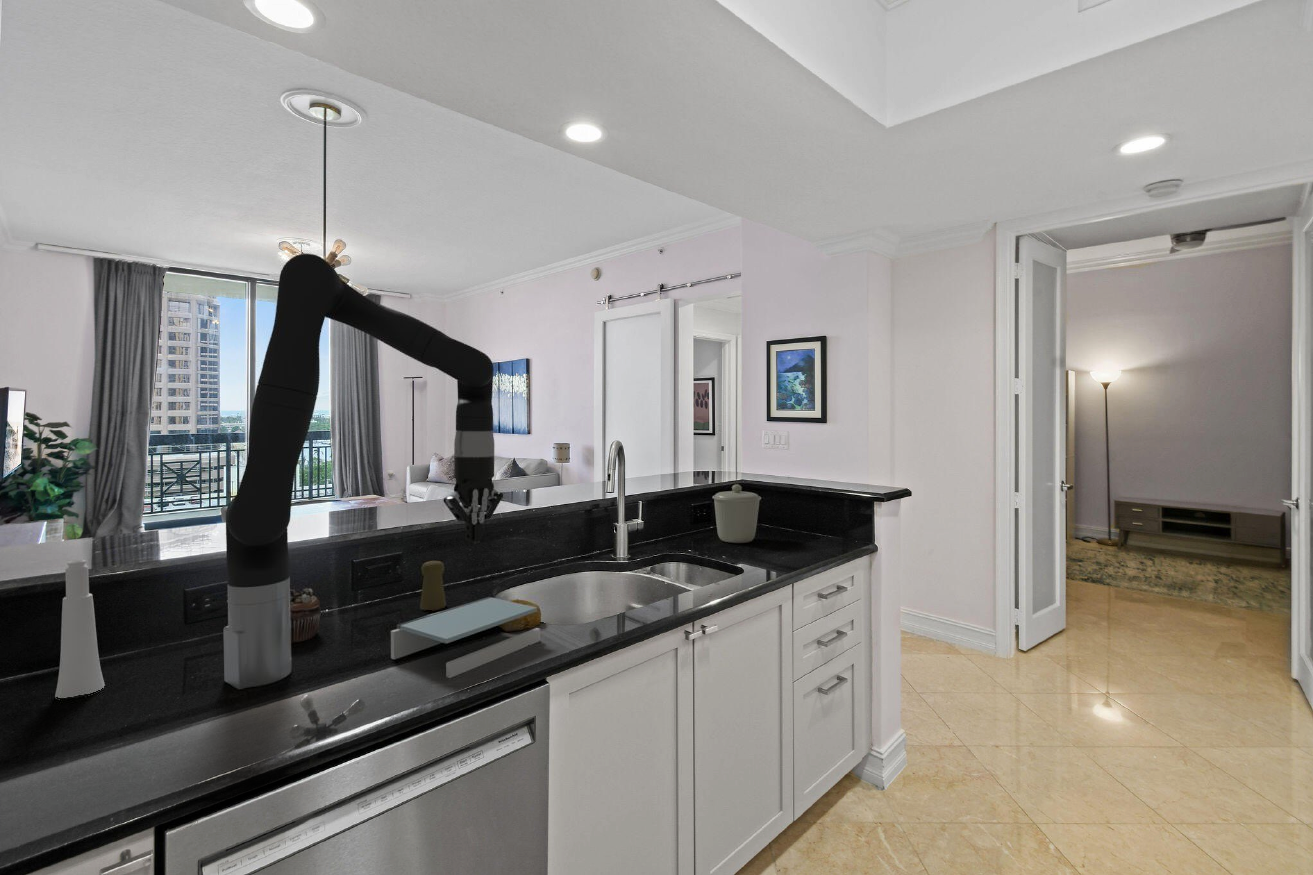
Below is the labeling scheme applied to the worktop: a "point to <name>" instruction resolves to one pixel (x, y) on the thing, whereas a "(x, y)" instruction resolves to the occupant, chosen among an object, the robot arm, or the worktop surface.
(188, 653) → the worktop surface
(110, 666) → the worktop surface
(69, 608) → the cosmetic bottle
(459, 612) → the cover
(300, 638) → the cupcake
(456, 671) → the white channel
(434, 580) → the cork
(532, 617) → the bagel
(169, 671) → the worktop surface
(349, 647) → the worktop surface
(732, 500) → the canister
